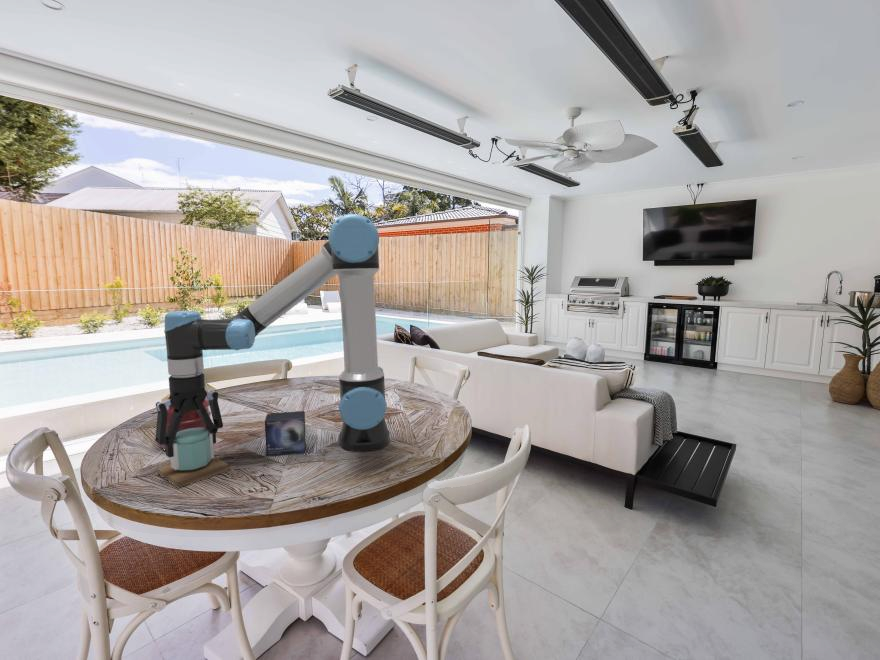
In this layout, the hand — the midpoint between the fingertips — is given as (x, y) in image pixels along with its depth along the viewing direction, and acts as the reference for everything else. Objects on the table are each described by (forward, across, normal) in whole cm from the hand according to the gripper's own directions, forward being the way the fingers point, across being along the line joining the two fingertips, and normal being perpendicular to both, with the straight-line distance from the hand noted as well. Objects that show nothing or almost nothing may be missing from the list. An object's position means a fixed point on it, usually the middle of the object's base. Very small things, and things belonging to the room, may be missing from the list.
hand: (193, 462), depth 107 cm
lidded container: (0, 0, 0) cm, 0 cm away
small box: (+3, -22, +7) cm, 23 cm away
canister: (+3, -7, -20) cm, 21 cm away
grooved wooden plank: (+3, 0, 0) cm, 3 cm away
